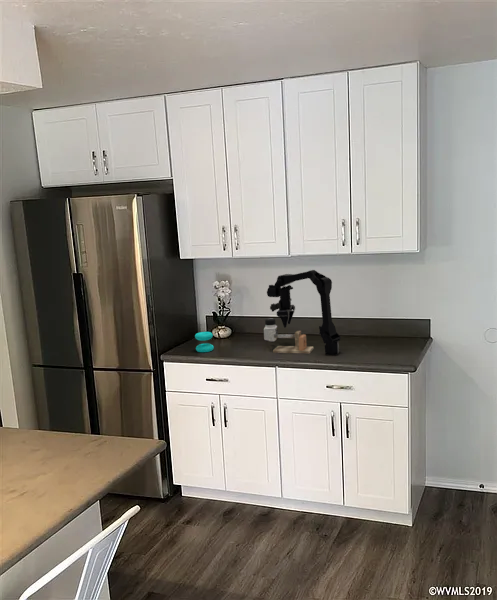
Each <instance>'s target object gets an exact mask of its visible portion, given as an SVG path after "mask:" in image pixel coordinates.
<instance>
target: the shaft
mask: <svg viewBox="0 0 497 600" xmlns="http://www.w3.org/2000/svg"><path fill="white" fill-rule="evenodd" d="M268 335H269V340H268V342H275V341H277V339H295V333H294V334H291V333H288V334H287V333H285V334H284V333H281V334H279V333H278V334H276V331H269V332H268ZM276 338H277V339H276Z"/></svg>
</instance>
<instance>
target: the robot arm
mask: <svg viewBox="0 0 497 600" xmlns="http://www.w3.org/2000/svg"><path fill="white" fill-rule="evenodd" d="M307 279H310V281H311V283H312V284H313V285H314V286H315V287H316V290H317V291H316V292H318V294H319V296H320V297H319V298H320V305H321V306H320V308H321V315H322V316H321V318H322V319H321V320H322V324H321V325H319V326H318V329H319V333H318V334H319V335H320V337H321V338H322V341H323V343H324V353H325V355H326V356H327V355H328V356H338V355H339V353H340V349H339V348H340V345H339V342H340V341H341V339H342V338H341V337H342V336H341V335H339V333H338V332H337V329H336V326H335V324H334V322H333V317H332V308H331V307H332V306H331V295H330V294H331V291H332V290H333V289H332V287H333V285H332V284H333V282H332V279H331V278H330V277H327V276H326V275H324V274H323V273H320V272H319V271H317V270H315V269H312V270H311V269H310V270H308V271H304V272H299V273H294V274H292V273H290V274H289V273H286V274H280V275H278V276H277V278H276V280H275V281H276V282H275V283H274V284H268V288H267V290H266V294H267V295H266V296H267V298H279V300H278V302H276V303H271V304H270V306H269V309H270V310H271V312H275V311H276V317H278V318H279V319H281V322H282V325H283V328H285V329H286V328H287V326H288V325H290V324H291V323H292V319H293V316H294V313H295V310H296V305H295V304H292V302H291V301H292V298H291V290H293V289H294V287H293V286H292V285H291V284H292V283H295V282H297V281H301V280H307Z"/></svg>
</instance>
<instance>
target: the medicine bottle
mask: <svg viewBox="0 0 497 600" xmlns="http://www.w3.org/2000/svg"><path fill="white" fill-rule="evenodd" d="M264 325H265V326H264V328H263V339H264V341H269V335H268V332H269V331H276V334H279V329H278V325H277V323H276V319H275V318H266V319H265V320H264ZM277 339H278V338H276V340H277Z"/></svg>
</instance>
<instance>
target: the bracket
mask: <svg viewBox="0 0 497 600" xmlns="http://www.w3.org/2000/svg"><path fill="white" fill-rule="evenodd" d="M294 334H295V338H294V343H295V345H277V346H276V347H275V348H274V349H273V350H272V353H274V354H275V353H276V354H280V353H281V354H308V355H309V354H311V353H312V352H313V350H314V346H307V347H306V348H305V349H304V350H299V337H300V336H301V335H302V330H296V331H295V332H294Z"/></svg>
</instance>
